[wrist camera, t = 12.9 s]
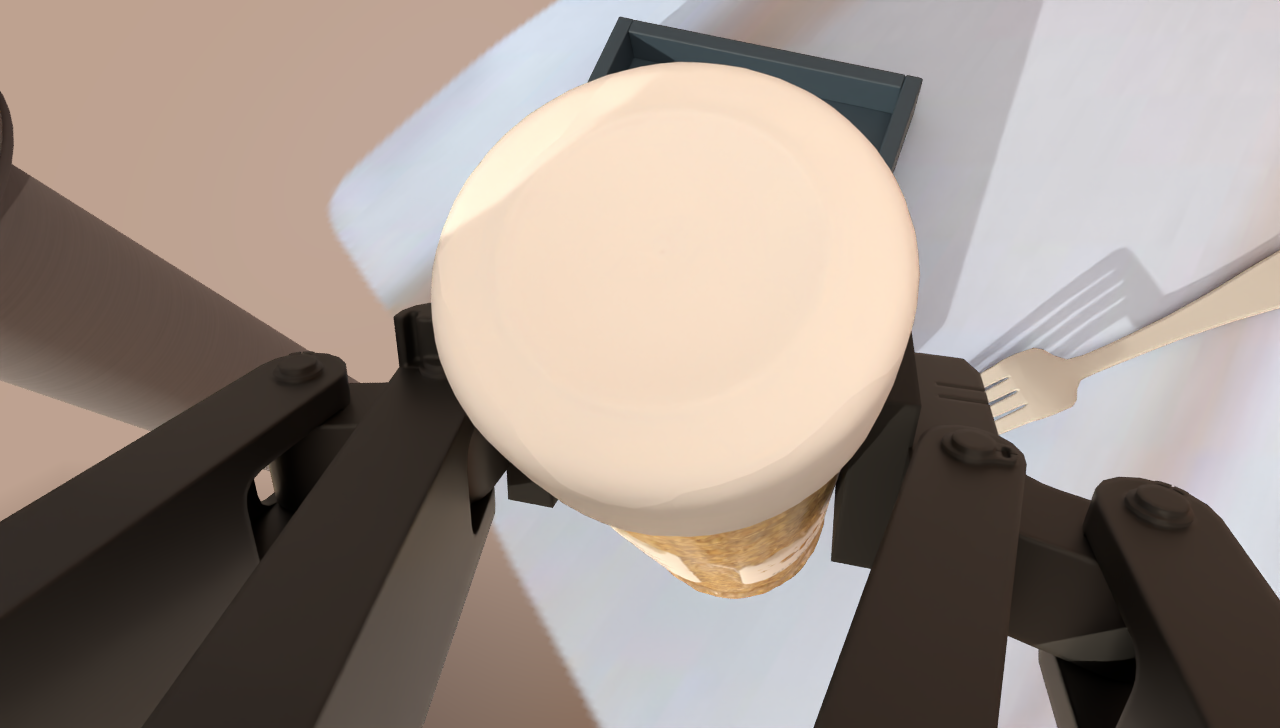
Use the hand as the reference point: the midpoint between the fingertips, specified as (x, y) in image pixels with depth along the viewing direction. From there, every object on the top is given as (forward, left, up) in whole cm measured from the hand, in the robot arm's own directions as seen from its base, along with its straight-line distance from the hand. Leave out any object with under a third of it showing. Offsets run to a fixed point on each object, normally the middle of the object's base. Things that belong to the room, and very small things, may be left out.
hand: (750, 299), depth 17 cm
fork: (+12, +10, -18) cm, 24 cm away
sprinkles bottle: (+1, -4, -4) cm, 6 cm away
